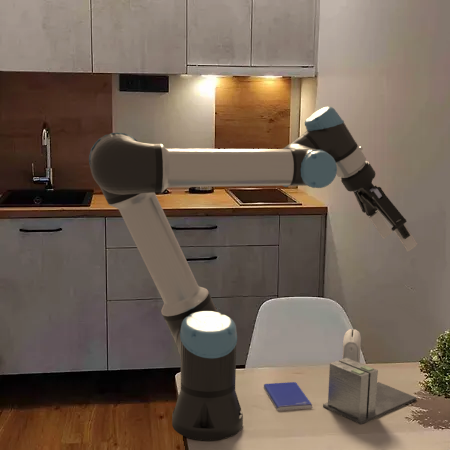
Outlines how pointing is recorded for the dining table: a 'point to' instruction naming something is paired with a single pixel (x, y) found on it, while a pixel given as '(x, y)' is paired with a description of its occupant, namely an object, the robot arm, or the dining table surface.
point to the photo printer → (352, 345)
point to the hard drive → (287, 396)
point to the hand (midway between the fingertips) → (399, 241)
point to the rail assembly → (361, 392)
